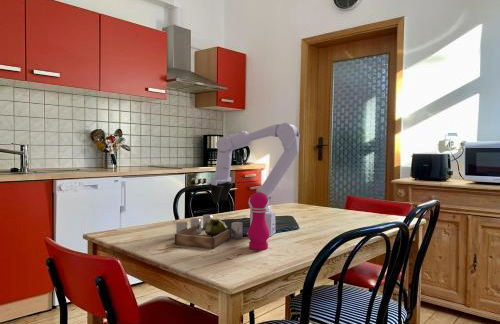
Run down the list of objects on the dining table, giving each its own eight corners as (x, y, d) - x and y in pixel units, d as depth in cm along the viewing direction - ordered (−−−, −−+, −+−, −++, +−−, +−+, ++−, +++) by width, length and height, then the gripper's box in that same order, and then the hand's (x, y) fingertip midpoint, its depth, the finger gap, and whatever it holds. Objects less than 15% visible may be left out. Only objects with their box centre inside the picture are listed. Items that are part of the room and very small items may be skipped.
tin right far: (189, 236, 141) (189, 222, 141) (183, 239, 137) (183, 224, 137) (179, 235, 143) (179, 221, 142) (174, 238, 139) (174, 223, 139)
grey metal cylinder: (214, 228, 156) (214, 214, 156) (210, 230, 152) (210, 216, 152) (205, 227, 157) (205, 214, 157) (201, 229, 153) (201, 215, 153)
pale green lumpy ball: (219, 241, 137) (216, 219, 136) (200, 240, 142) (197, 219, 141) (235, 234, 144) (231, 213, 143) (216, 233, 149) (213, 213, 149)
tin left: (244, 237, 141) (244, 222, 141) (240, 239, 138) (240, 224, 137) (234, 236, 143) (234, 221, 142) (229, 238, 139) (229, 223, 139)
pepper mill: (262, 251, 122) (262, 189, 121) (243, 248, 126) (243, 188, 125) (273, 246, 128) (273, 187, 128) (254, 243, 132) (255, 186, 131)
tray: (230, 239, 138) (230, 229, 138) (213, 248, 125) (213, 238, 125) (194, 235, 143) (194, 226, 143) (174, 244, 130) (174, 234, 130)
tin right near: (202, 232, 148) (202, 218, 148) (198, 234, 144) (198, 220, 144) (193, 231, 150) (193, 217, 149) (188, 233, 146) (188, 219, 146)
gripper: (221, 165, 159) (218, 197, 160) (205, 167, 145) (202, 202, 146) (237, 167, 157) (233, 200, 158) (222, 169, 143) (218, 205, 144)
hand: (219, 201), depth 152 cm, fingers open, 7 cm apart
